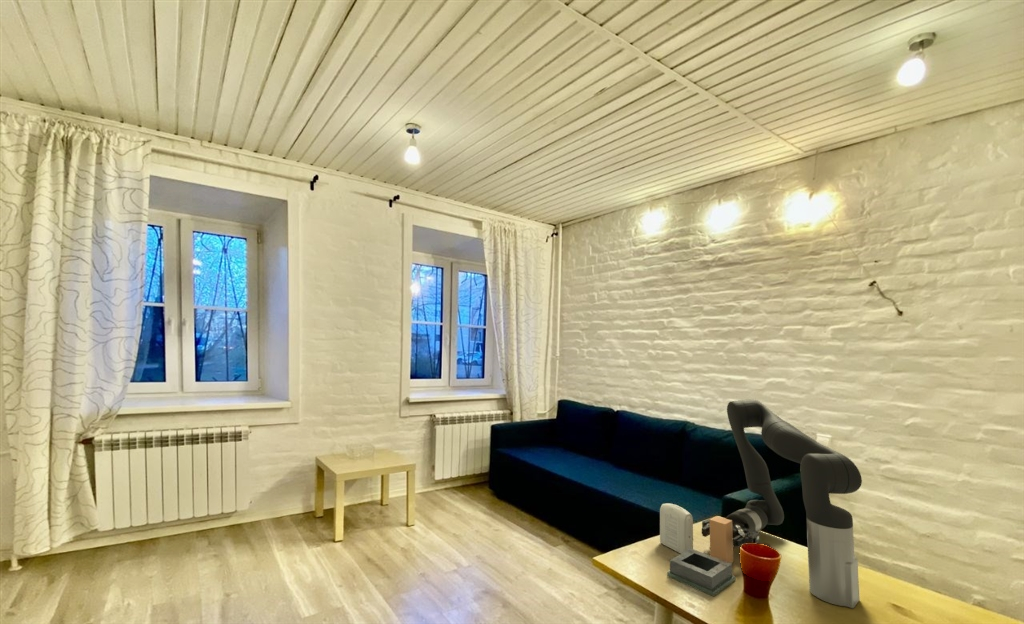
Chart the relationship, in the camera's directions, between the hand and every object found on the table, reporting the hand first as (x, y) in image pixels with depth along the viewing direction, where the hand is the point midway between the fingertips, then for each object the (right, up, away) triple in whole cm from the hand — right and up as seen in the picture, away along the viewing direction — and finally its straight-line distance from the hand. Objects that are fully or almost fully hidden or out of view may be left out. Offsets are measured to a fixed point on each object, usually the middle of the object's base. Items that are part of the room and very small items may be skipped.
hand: (718, 538), depth 121 cm
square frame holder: (-9, -6, -9) cm, 14 cm away
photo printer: (-9, -7, +8) cm, 14 cm away
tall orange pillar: (+1, -7, +1) cm, 7 cm away
